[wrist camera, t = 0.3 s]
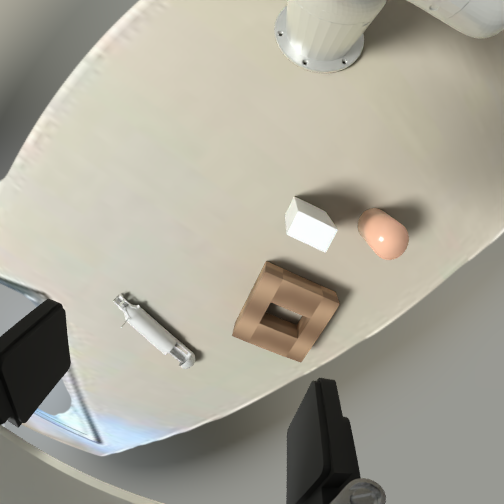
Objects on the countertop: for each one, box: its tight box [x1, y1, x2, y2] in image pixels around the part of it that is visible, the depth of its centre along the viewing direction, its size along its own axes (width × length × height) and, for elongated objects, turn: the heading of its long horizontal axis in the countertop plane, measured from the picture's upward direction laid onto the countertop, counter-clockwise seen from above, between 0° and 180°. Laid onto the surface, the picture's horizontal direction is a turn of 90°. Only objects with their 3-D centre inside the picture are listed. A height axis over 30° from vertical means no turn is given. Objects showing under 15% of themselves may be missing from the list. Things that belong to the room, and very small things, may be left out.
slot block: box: [232, 261, 340, 362], centre depth 47 cm, size 12×12×4 cm
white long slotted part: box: [113, 295, 195, 369], centre depth 50 cm, size 18×5×7 cm, turn 45°
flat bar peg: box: [285, 196, 338, 253], centre depth 39 cm, size 3×5×10 cm, turn 66°
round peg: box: [358, 208, 409, 260], centre depth 40 cm, size 5×5×8 cm
